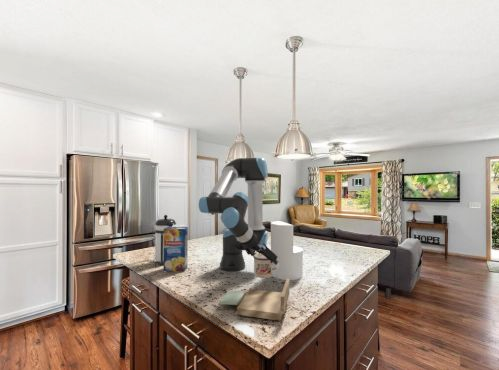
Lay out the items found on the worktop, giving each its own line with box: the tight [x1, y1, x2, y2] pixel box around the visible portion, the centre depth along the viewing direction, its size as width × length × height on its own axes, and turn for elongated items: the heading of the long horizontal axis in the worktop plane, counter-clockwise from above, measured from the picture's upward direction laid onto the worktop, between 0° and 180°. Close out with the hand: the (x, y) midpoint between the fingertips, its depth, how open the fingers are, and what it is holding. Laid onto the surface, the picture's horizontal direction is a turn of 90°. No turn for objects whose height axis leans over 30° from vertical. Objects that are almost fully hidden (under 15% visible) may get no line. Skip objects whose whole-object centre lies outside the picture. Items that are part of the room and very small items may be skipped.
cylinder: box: [270, 220, 304, 281], centre depth 137 cm, size 17×17×28 cm
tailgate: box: [218, 289, 247, 306], centre depth 101 cm, size 2×11×8 cm
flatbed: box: [236, 279, 290, 322], centre depth 97 cm, size 17×18×9 cm
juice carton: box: [162, 226, 189, 272], centre depth 144 cm, size 12×8×24 cm, turn 92°
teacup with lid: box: [253, 252, 279, 279], centre depth 118 cm, size 12×9×12 cm
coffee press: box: [152, 214, 177, 266], centre depth 159 cm, size 17×16×30 cm
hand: (269, 264), depth 120 cm, fingers closed on teacup with lid, 10 cm apart
